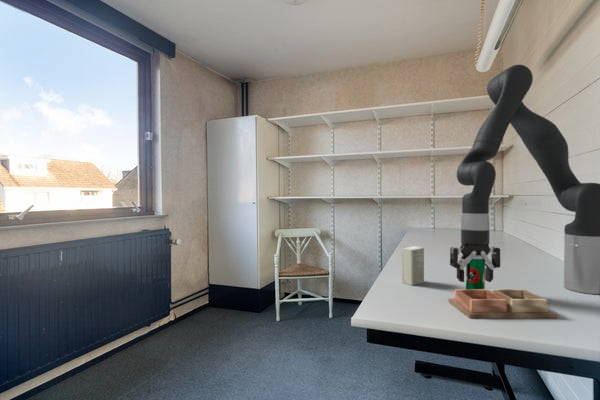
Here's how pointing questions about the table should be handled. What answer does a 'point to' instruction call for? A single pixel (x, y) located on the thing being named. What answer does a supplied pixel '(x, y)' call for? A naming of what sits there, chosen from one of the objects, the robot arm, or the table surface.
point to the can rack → (500, 304)
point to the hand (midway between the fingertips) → (474, 281)
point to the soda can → (475, 273)
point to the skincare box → (413, 265)
